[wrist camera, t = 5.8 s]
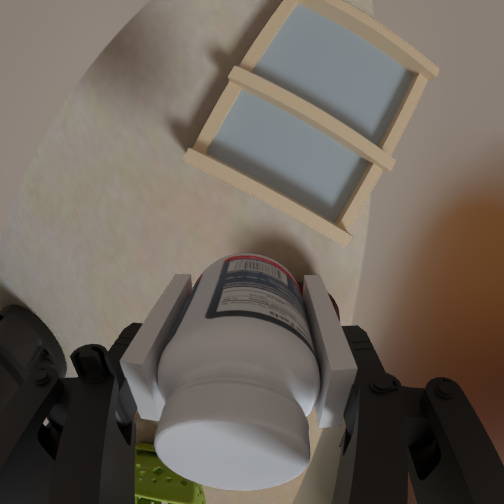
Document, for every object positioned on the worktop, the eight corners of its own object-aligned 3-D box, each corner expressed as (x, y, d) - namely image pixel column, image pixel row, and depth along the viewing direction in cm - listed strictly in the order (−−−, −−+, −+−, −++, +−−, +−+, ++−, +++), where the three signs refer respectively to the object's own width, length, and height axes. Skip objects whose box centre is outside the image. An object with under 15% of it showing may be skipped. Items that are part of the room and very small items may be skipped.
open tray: (190, 159, 27) (182, 160, 24) (291, -6, 21) (295, -22, 18) (336, 237, 29) (346, 247, 26) (423, 75, 23) (439, 69, 20)
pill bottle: (234, 358, 15) (212, 505, 7) (173, 286, 14) (90, 425, 6) (320, 314, 14) (362, 469, 6) (264, 228, 13) (261, 363, 5)
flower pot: (203, 442, 41) (194, 505, 29) (213, 476, 45) (208, 528, 33) (127, 433, 41) (107, 488, 29) (148, 469, 46) (135, 516, 34)
